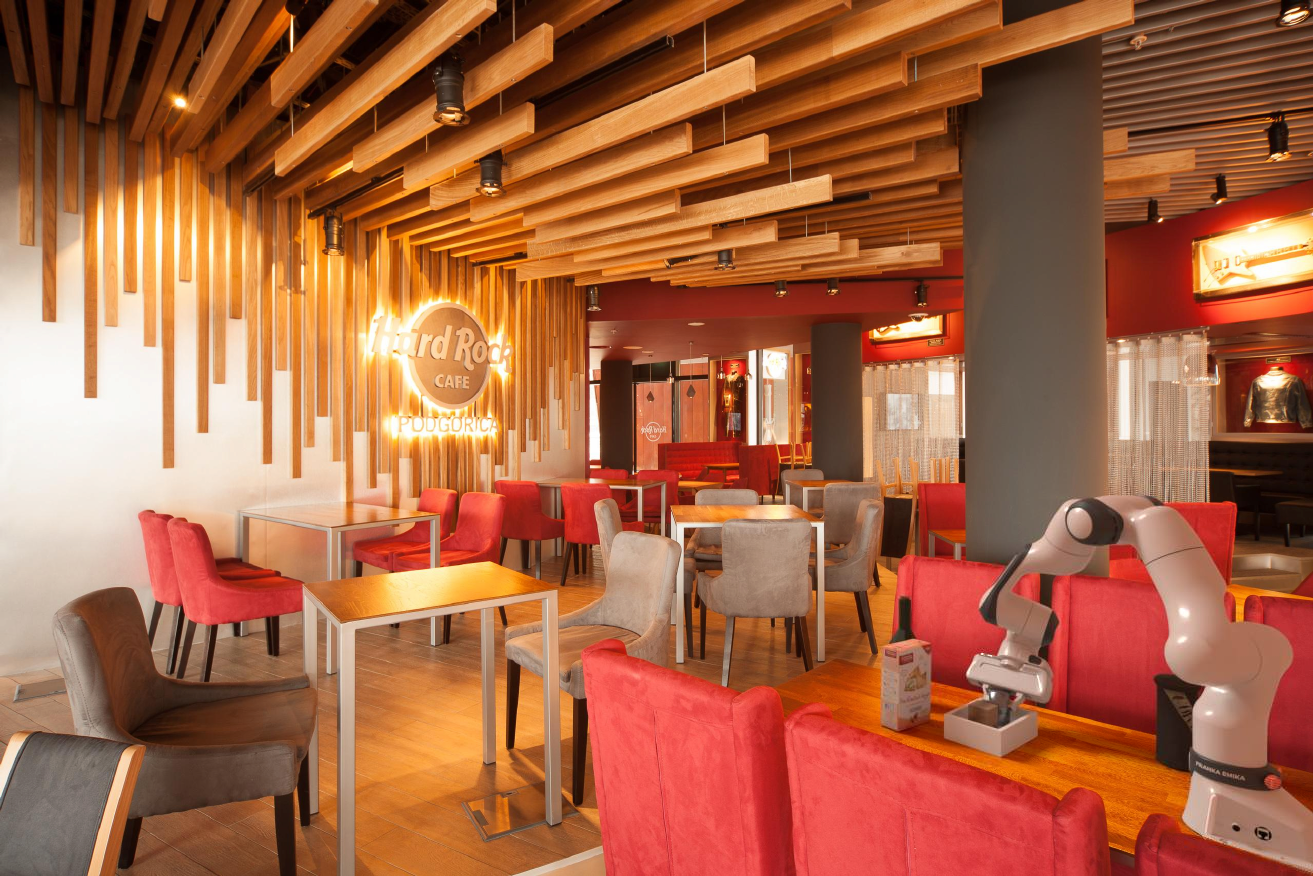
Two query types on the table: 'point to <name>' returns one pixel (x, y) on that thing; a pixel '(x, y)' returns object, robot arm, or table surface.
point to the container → (1174, 720)
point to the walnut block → (983, 713)
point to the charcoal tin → (1001, 704)
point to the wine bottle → (904, 621)
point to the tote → (991, 730)
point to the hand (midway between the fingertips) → (998, 706)
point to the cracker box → (905, 684)
